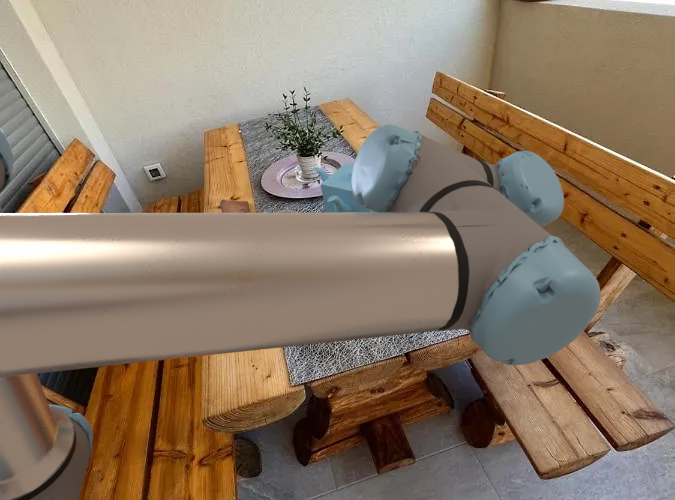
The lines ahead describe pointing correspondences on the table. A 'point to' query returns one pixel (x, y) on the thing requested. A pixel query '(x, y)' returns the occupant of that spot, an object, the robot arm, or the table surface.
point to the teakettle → (339, 191)
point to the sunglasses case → (234, 206)
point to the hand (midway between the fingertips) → (345, 289)
